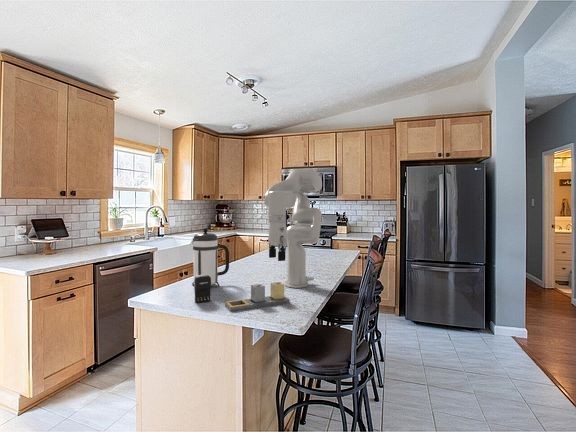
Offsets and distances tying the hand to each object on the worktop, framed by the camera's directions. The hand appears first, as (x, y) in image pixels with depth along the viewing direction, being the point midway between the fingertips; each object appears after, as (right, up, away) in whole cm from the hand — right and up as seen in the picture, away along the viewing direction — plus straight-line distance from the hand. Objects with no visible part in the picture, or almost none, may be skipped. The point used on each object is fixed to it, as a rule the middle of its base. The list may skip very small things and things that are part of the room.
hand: (276, 259), depth 138 cm
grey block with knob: (-8, -19, -3) cm, 21 cm away
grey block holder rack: (-8, -19, -3) cm, 21 cm away
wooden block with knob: (0, -19, +1) cm, 19 cm away
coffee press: (-37, -18, +28) cm, 50 cm away
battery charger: (-32, -19, 0) cm, 37 cm away
